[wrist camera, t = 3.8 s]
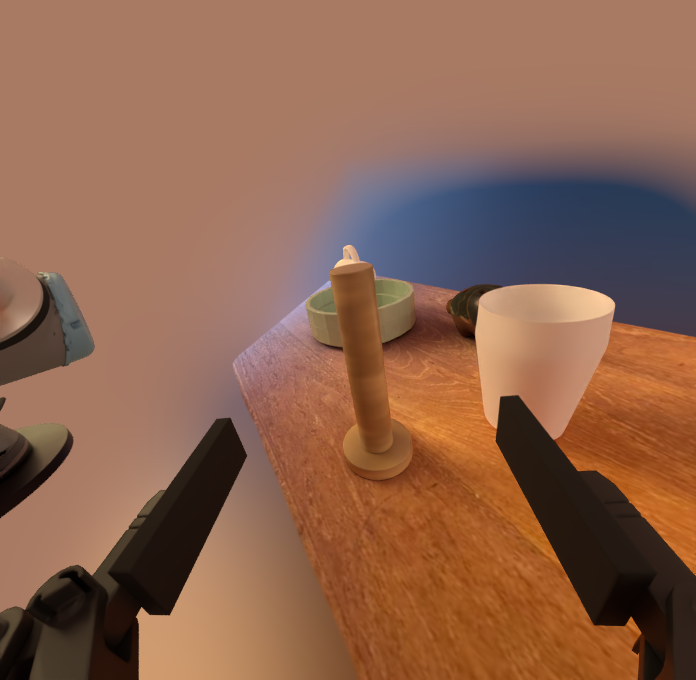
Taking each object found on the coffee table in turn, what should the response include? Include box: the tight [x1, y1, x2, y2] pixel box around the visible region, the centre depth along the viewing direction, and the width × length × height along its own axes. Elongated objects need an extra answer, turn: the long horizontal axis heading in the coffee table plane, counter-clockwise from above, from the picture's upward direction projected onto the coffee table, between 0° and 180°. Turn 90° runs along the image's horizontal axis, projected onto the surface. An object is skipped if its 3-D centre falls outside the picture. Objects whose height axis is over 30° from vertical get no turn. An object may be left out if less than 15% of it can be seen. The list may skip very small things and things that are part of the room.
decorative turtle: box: [446, 284, 503, 337], centre depth 41 cm, size 10×15×8 cm, turn 28°
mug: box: [335, 245, 376, 279], centre depth 74 cm, size 8×10×12 cm
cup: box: [475, 284, 615, 440], centre depth 24 cm, size 9×9×12 cm
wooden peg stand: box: [329, 263, 413, 480], centre depth 22 cm, size 6×6×17 cm
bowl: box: [306, 279, 416, 347], centre depth 52 cm, size 20×20×6 cm
